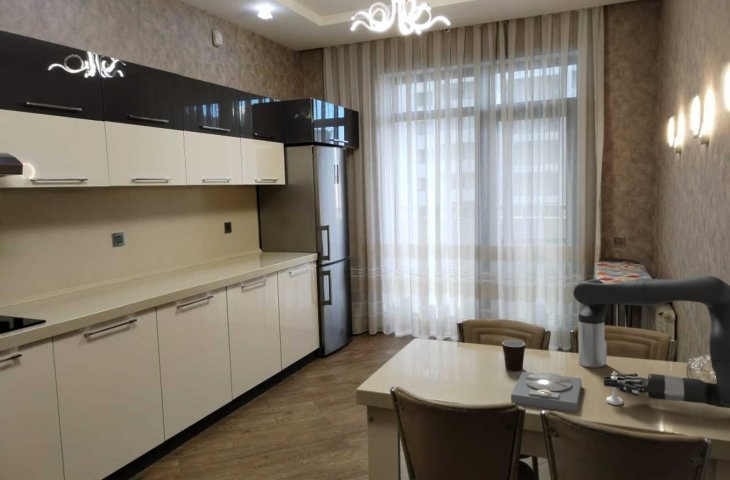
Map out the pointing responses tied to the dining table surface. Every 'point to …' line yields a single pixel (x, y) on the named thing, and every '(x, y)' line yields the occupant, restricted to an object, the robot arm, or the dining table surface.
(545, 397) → the kitchen scale
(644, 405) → the dining table surface
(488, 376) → the dining table surface
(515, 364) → the coffee mug
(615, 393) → the chess piece
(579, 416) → the dining table surface
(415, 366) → the dining table surface
